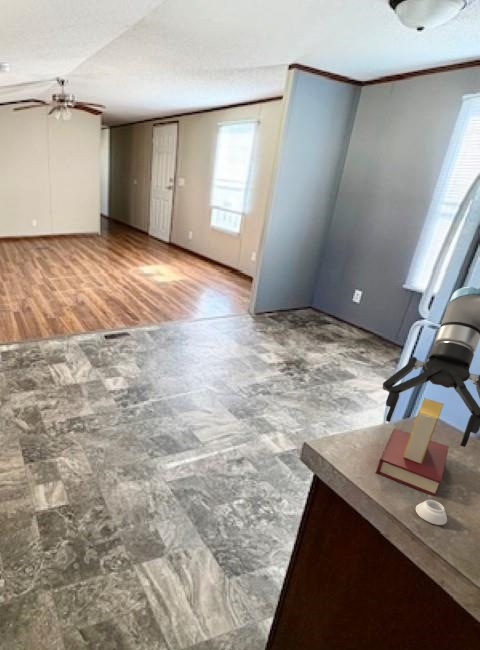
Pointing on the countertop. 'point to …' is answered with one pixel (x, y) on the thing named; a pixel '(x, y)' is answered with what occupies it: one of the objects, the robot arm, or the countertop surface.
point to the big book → (413, 463)
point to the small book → (423, 430)
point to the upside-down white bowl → (432, 512)
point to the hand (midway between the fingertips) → (423, 431)
